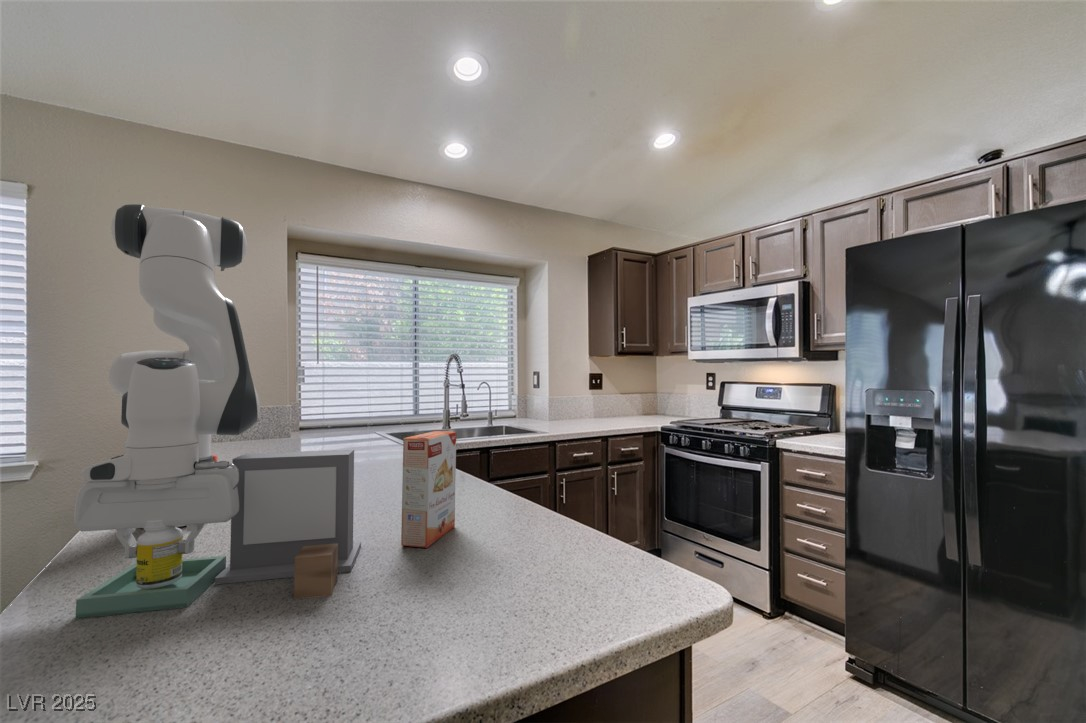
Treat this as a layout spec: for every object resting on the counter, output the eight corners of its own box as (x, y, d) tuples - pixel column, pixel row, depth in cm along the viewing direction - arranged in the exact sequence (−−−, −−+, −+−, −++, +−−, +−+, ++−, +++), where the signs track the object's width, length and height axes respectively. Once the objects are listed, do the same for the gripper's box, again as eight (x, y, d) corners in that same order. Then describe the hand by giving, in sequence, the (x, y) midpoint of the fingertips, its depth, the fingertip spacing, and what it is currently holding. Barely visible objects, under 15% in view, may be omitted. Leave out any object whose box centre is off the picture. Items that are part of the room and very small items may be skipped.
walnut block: (302, 585, 73) (303, 546, 73) (337, 581, 74) (337, 543, 75) (294, 599, 68) (294, 557, 69) (330, 595, 69) (331, 554, 70)
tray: (134, 579, 75) (135, 563, 76) (225, 570, 79) (226, 555, 79) (75, 618, 63) (76, 599, 63) (187, 607, 66) (187, 589, 66)
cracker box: (429, 549, 88) (429, 438, 89) (399, 547, 89) (400, 437, 90) (457, 526, 102) (457, 430, 103) (431, 525, 103) (432, 430, 104)
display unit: (243, 556, 85) (246, 451, 86) (360, 546, 90) (362, 447, 91) (214, 584, 73) (217, 462, 74) (350, 571, 78) (352, 456, 79)
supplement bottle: (133, 582, 71) (135, 517, 71) (177, 571, 75) (179, 509, 75) (138, 593, 67) (140, 524, 67) (185, 581, 71) (187, 516, 71)
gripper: (246, 457, 77) (244, 542, 77) (98, 462, 72) (95, 553, 72) (231, 463, 71) (229, 556, 70) (67, 470, 66) (64, 569, 66)
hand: (160, 554), depth 71 cm, fingers closed on supplement bottle, 5 cm apart
